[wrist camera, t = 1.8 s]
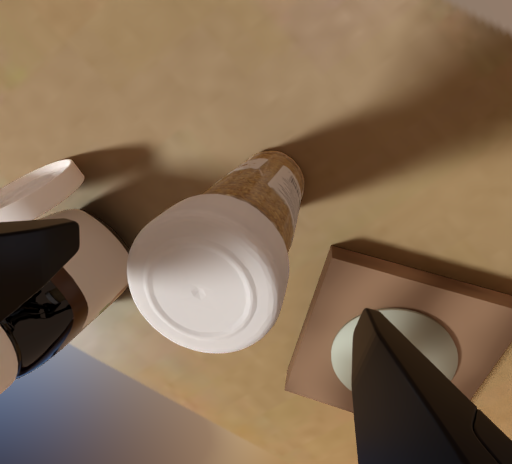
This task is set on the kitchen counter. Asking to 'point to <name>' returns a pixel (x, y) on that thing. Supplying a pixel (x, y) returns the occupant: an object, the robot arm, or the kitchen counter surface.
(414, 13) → the kitchen counter surface
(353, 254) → the walnut plinth
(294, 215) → the sprinkles bottle
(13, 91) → the kitchen counter surface
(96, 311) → the spread jar
